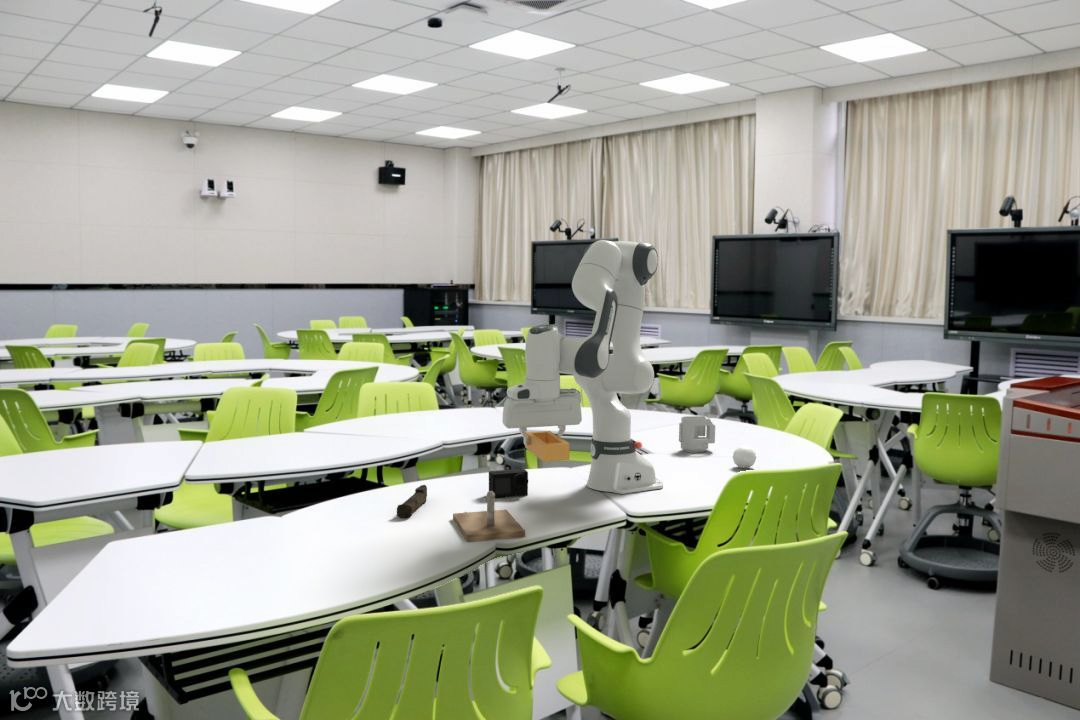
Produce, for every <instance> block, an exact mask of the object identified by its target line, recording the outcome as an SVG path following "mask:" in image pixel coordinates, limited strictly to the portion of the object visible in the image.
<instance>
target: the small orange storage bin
mask: <svg viewBox="0 0 1080 720" xmlns="http://www.w3.org/2000/svg"><path fill="white" fill-rule="evenodd" d="M525 434H526V436H527V437H530V438H531V441H530V442H531V445H524V447H525V449H527V450H528V451H529V452H531V454H533V455H534V456H536V457H537V458H538V459H539V460H541V462H558V461H560V462H561V461H570V443H569V442H568V441H566V440H565V439H563V438H562V437H561V438H560V437H558V436H557V434H555V433H554V432H552V431H550V430H541V431H537V430H536V431H527V432H525Z"/></svg>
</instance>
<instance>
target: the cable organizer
mask: <svg viewBox="0 0 1080 720" xmlns="http://www.w3.org/2000/svg"><path fill="white" fill-rule="evenodd" d="M678 442H679V443H680V449H681V450H682V451H684V452H686V453H705V452H706V451H707V450H709V444H715V443H716V425H715V423H714V422H712V421H711V419H710V418H706V417H705V415H695V416H693V415H690V416H689V415H688V416H682V417H681V422H679V424H678Z"/></svg>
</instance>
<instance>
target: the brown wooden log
mask: <svg viewBox="0 0 1080 720" xmlns="http://www.w3.org/2000/svg"><path fill="white" fill-rule="evenodd" d="M427 497H428V486H427V485H426V484H422V485H420V486H417V487H416V488H415V491H414V493H413V495H411V496H410V497H409V498H408V499H406V500H405V501H404V502H403V503H401V504H397V508H396V516H397V518H399V519H410V518H411V517H412V515H413V513H414V512H415V511H416V510H418V509H419V508H420V506H421V505H422V504H423V505H425V504H426V502H427ZM423 505H422V506H423Z"/></svg>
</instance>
